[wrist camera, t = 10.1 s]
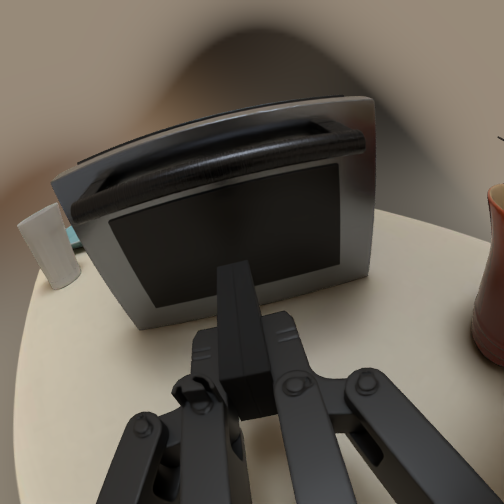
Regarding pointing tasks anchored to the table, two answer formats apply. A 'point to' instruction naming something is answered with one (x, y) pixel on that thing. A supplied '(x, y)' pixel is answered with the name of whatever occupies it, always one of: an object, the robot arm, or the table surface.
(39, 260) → the cup
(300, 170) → the door
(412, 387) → the table surface
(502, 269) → the mug
